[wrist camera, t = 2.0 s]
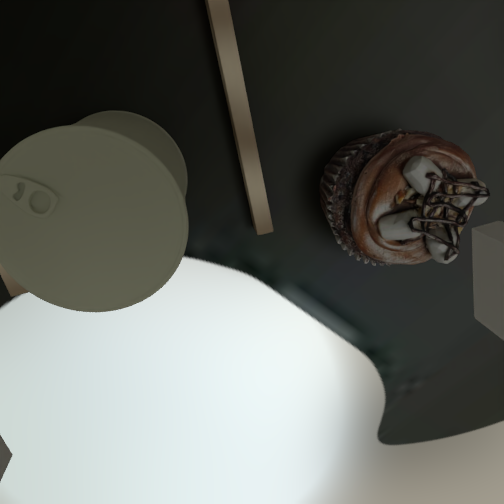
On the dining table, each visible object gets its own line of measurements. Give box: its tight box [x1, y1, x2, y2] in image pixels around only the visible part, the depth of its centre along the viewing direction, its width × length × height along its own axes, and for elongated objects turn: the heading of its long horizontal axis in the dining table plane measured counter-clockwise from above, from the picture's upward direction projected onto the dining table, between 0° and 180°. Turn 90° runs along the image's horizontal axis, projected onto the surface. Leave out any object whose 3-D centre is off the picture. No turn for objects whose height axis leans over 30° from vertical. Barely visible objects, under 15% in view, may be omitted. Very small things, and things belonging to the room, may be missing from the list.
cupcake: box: [319, 129, 490, 266], centre depth 29 cm, size 10×10×10 cm
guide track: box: [0, 0, 273, 296], centre depth 24 cm, size 30×19×5 cm, turn 12°
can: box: [0, 111, 188, 312], centre depth 25 cm, size 9×9×12 cm
